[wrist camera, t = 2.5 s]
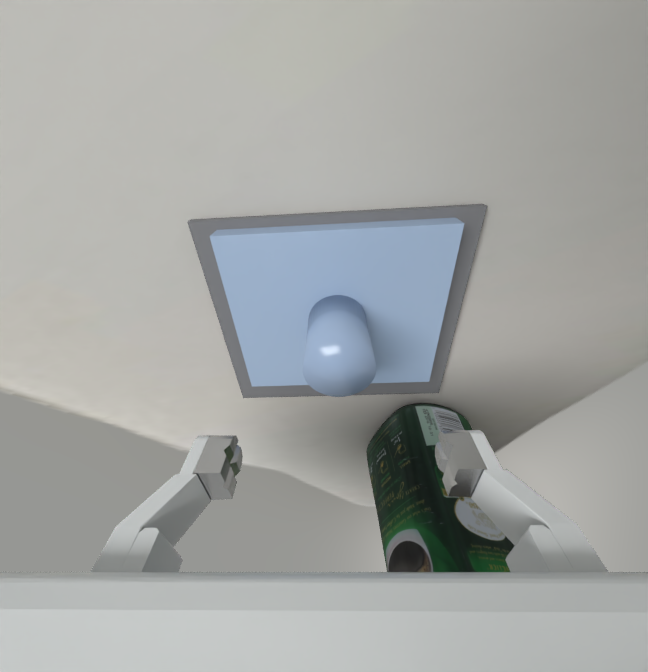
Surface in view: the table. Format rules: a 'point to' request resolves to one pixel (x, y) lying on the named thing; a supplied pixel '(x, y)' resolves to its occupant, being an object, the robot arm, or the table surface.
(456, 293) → the mat
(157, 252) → the table surface
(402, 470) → the coffee jar
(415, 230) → the lid
